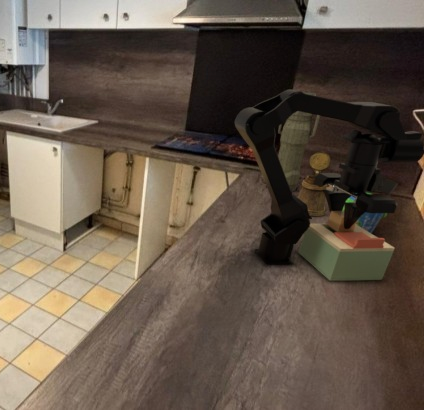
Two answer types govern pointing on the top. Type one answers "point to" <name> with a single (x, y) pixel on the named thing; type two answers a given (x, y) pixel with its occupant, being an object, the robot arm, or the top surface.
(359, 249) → the lid
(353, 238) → the slider
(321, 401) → the top surface
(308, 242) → the green box
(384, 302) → the top surface
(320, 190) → the wooden mug
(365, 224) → the snack cup
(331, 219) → the block
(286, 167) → the thermos
